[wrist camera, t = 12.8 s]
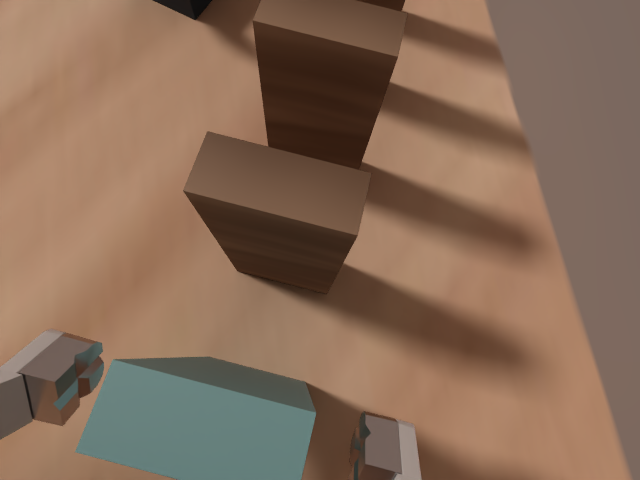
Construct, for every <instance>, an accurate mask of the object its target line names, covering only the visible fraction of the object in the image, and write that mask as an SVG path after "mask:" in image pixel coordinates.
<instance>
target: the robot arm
mask: <svg viewBox="0 0 640 480" xmlns="http://www.w3.org/2000/svg"><path fill="white" fill-rule="evenodd" d="M102 352H103V349H102V343H100V342H97V341H93V340H90V339H86V338H83V337H80V336H76V335H73V334H69V333H66V332H62V331H58V330H55V329H49V330H46V331H44V332H43V333H42V334H40V335H39V336H38V337H37V338H35V339H34V340H33V341H32V342H31V343H29V344H28V345H27V346H26V347H24V348H23V349H22V350H21V351H20V352H18V353H17V354H16V355H15V356H13V357H12V358H11V359H10V360H8V361H7V362H6V363H5V364H4V365H2V366H1V367H0V440H1V439H2V438H4V437H6V436H8V435H9V434H11V433H13V432H15V431H16V430H18V429H20V428H22V427H23V426H25V425H27V424H29V423H30V422H32V421H33V420H38V421H42V422H46V423H51V424H55V425H59V426H63V425H64V424H65V423H66V422H67V420H68V419H69V418H70V417H71V416H72V415H73V413H74V412H75V411H76V410H77V409H78V408H79V406H80V398H82V397H84V396H86V395H88V394H90V393H91V392H92V391H93V390H94V388H95V387H96V386H97V385H98V383H99V381H100V379H101V377H102V375H103V370H104V362H103V360H102V359H101V358H100V357H99V355H100V354H101V353H102ZM32 419H33V420H32ZM349 462H350V464H351V466H352V470H351V473H350V475H349V477H348V480H422V477H421V470H420V462H419V455H418V447H417V440H416V432H415V427H414V425H413V424H412V423H409V422H405V421H401V420H397V419H395V418H391V417H387V416H383V415H378V414H374V413H370V412H366V411H364V412H363V413H362V414H361V417H360V424H359V427H357V428H356V429H355V431H354V434H353V437H352V442H351V447H350V458H349Z"/></svg>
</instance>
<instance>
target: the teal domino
mask: <svg viewBox="0 0 640 480" xmlns="http://www.w3.org/2000/svg"><path fill="white" fill-rule="evenodd" d="M315 416H316V411H315V408H314V405H313V402H312V400H311V397H310V394H309V391H308V388H307V386H306V383H305V382H304V381H300V380H296V379H292V378H288V377H285V376H281V375H277V374H273V373H269V372H266V371H262V370H258V369H254V368H250V367H246V366H243V365H239V364H235V363H231V362H227V361H223V360H220V359H216V358H212V357H181V358H147V359H113V361H112V363H111V365H110V368H109V370H108V373H107V375H106V378H105V380H104V383H103V385H102V387H101V390H100V392H99V395H98V397H97V400H96V402H95V405H94V407H93V409H92V412H91V414H90V417H89V419H88V422H87V424H86V427H85V429H84V431H83V434H82V436H81V439H80V441H79V444H78V446H77V449H76V451H75V452H77V453H80V454H84V455H88V456H92V457H95V458H99V459H103V460H107V461H110V462H114V463H118V464H122V465H125V466H129V467H133V468H137V469H140V470H144V471H148V472H152V473H155V474H159V475H163V476H167V477H170V478H174V479H178V480H301V478H302V473H303V469H304V465H305V460H306V456H307V452H308V447H309V443H310V438H311V434H312V430H313V425H314V421H315Z"/></svg>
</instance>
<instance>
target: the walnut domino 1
mask: <svg viewBox="0 0 640 480" xmlns="http://www.w3.org/2000/svg"><path fill="white" fill-rule="evenodd" d="M407 15H408V13H405V12H401V11H397V10H393V9H389V8H385V7H381V6H377V5H373V4H369V3H365V2H361V1H357V0H261V1H260V4H259V6H258V8H257V11H256V13H255V16H254V18H253V27H254V35H255V43H256V51H257V59H258V67H259V75H260V83H261V91H262V99H263V107H264V115H265V123H266V131H267V139H268V147H271V148H275V149H279V150H283V151H287V152H291V153H295V154H298V155H302V156H306V157H310V158H314V159H318V160H322V161H326V162H330V163H334V164H338V165H342V166H345V167H349V168H353V169H357V170H359V168H360V165H361V162H362V159H363V156H364V153H365V150H366V147H367V145H368V142H369V139H370V136H371V133H372V130H373V127H374V124H375V122H376V119H377V116H378V113H379V110H380V107H381V104H382V101H383V98H384V96H385V93H386V90H387V87H388V84H389V81H390V78H391V75H392V73H393V70H394V67H395V64H396V61H397V58H398V54H399V50H400V46H401V41H402V37H403V32H404V28H405V24H406V19H407Z"/></svg>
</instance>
